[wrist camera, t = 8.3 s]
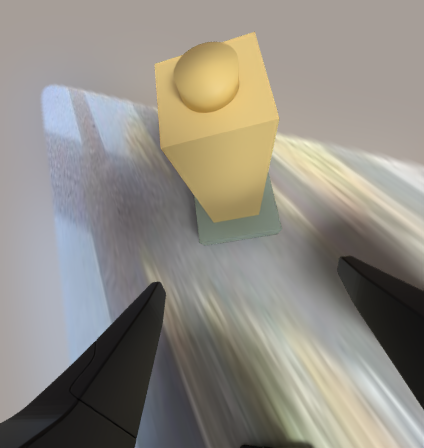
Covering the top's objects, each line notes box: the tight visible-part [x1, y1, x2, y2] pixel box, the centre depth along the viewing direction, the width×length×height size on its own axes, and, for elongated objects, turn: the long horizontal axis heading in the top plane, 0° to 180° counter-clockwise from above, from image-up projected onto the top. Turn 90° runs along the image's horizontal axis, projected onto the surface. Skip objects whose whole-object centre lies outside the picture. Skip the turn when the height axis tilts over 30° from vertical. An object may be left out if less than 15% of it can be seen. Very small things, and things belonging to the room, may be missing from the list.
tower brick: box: [155, 32, 279, 223], centre depth 13 cm, size 4×4×13 cm
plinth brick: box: [194, 173, 282, 245], centre depth 20 cm, size 8×8×2 cm
